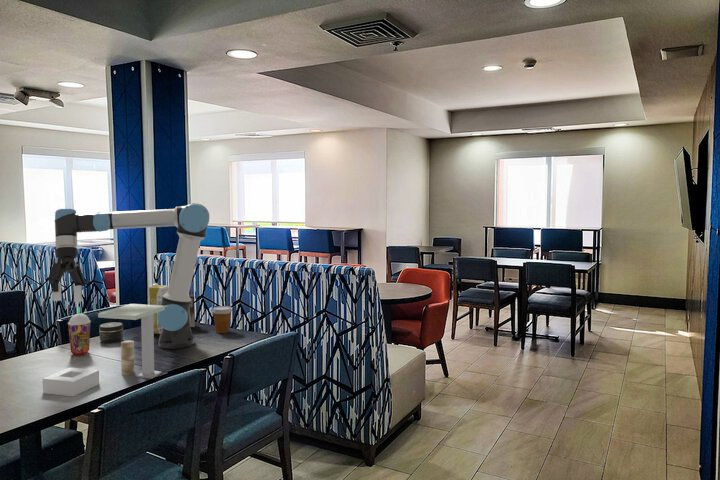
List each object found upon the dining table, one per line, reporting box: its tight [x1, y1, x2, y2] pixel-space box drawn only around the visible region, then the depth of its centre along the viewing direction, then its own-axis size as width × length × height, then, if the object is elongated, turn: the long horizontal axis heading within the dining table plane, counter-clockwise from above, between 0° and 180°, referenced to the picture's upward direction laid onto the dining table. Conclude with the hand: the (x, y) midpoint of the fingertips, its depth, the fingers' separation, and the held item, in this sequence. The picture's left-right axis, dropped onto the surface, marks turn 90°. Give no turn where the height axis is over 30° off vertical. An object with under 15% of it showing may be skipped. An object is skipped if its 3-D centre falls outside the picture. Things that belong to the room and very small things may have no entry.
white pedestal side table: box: [97, 303, 165, 380], centre depth 192 cm, size 17×18×24 cm
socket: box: [42, 367, 100, 397], centre depth 178 cm, size 12×12×5 cm
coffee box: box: [189, 294, 196, 328], centre depth 266 cm, size 9×6×16 cm
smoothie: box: [67, 306, 92, 357], centre depth 216 cm, size 8×8×20 cm
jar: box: [98, 322, 124, 344], centre depth 238 cm, size 10×10×8 cm
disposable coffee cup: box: [211, 305, 233, 334], centre depth 257 cm, size 10×10×12 cm
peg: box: [120, 340, 135, 376], centre depth 194 cm, size 4×4×12 cm
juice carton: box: [147, 283, 169, 335], centre depth 254 cm, size 9×8×24 cm
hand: (68, 301), depth 201 cm, fingers open, 13 cm apart
